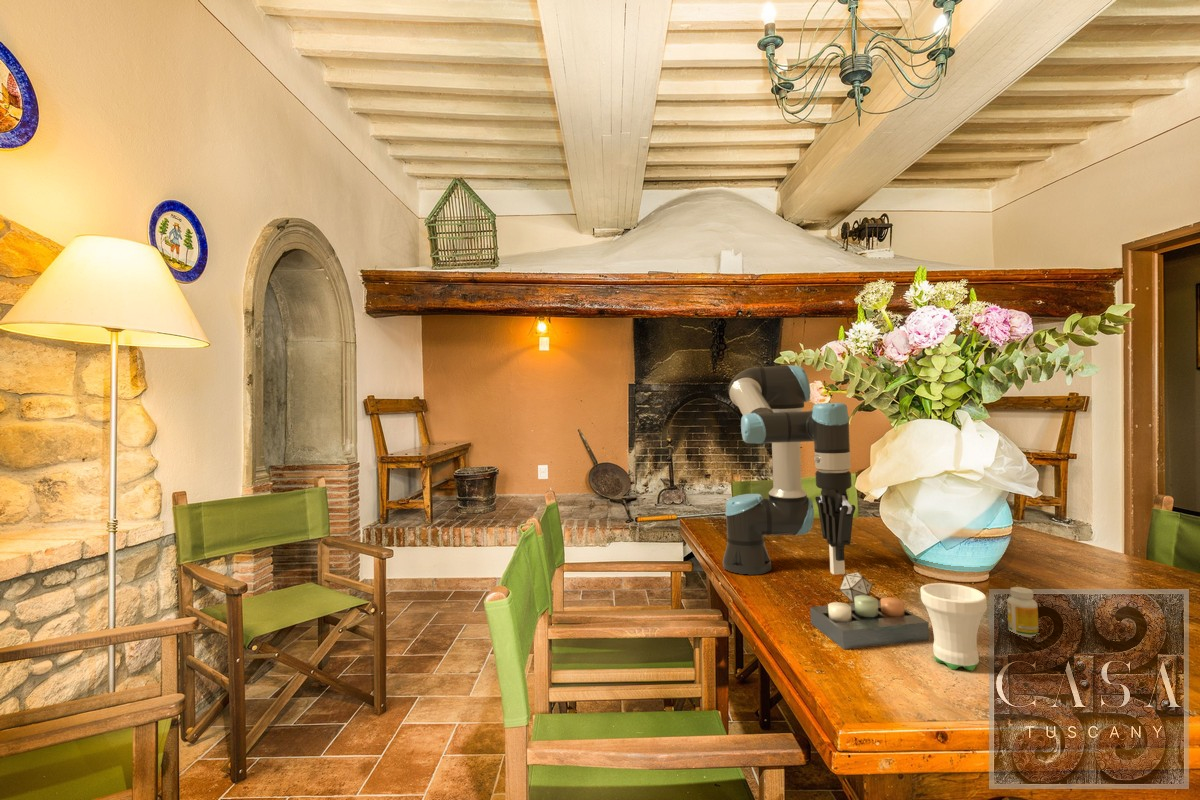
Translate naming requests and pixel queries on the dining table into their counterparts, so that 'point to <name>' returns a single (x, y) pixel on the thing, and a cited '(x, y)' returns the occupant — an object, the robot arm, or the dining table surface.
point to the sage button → (866, 606)
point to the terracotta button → (892, 607)
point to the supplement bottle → (1022, 612)
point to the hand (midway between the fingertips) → (837, 573)
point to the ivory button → (839, 612)
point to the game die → (855, 585)
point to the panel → (870, 628)
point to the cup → (954, 622)
